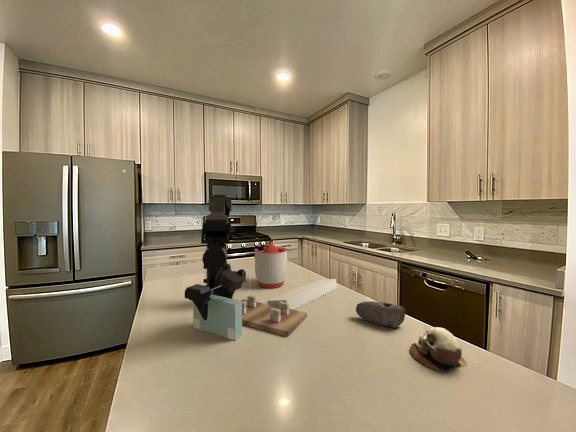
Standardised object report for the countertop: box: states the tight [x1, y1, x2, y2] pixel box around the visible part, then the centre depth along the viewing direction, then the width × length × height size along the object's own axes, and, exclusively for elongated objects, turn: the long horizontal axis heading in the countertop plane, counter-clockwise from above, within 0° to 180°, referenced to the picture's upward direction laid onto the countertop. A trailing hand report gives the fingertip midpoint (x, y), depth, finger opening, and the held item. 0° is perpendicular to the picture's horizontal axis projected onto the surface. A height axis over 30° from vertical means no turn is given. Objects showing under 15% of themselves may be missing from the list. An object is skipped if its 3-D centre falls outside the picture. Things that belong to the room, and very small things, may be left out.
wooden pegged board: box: [240, 294, 308, 338], centre depth 82 cm, size 26×14×5 cm, turn 63°
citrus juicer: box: [253, 242, 288, 289], centre depth 116 cm, size 16×17×20 cm
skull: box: [409, 326, 468, 375], centre depth 61 cm, size 12×10×10 cm
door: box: [192, 294, 243, 341], centre depth 72 cm, size 16×3×10 cm, turn 63°
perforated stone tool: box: [355, 300, 406, 329], centre depth 78 cm, size 15×5×7 cm, turn 54°
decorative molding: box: [266, 278, 338, 311], centre depth 101 cm, size 34×5×10 cm
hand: (216, 313), depth 72 cm, fingers open, 9 cm apart
